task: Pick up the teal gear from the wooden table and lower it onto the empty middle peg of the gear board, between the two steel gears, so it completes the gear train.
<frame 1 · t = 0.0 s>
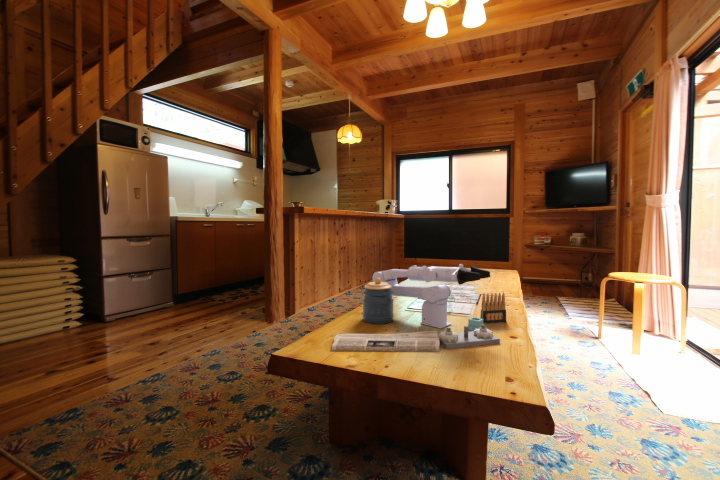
hand: (484, 275, 115), 22 cm above the table, tool horizontal, fingers open, 7 cm apart
teal gear: (475, 329, 123), on the table
gear board: (466, 341, 111), on the table
canister: (378, 320, 136), on the table
ammunition clip: (493, 322, 133), on the table
newspaper: (386, 345, 109), on the table
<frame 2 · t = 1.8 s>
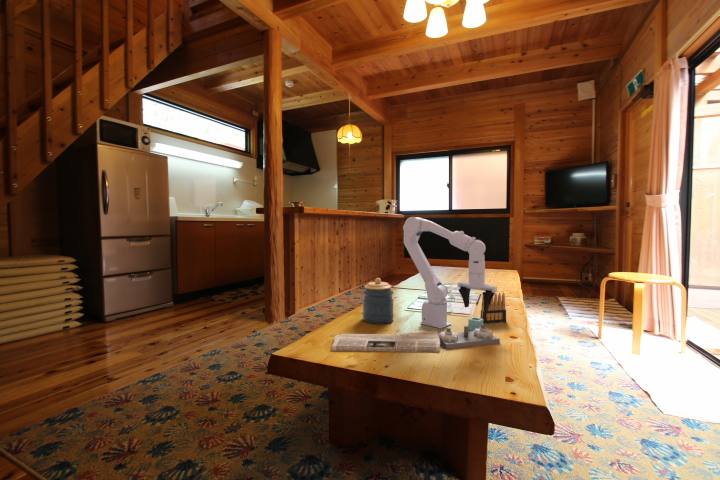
hand: (476, 308, 123), 8 cm above the table, tool pointing down, fingers open, 7 cm apart
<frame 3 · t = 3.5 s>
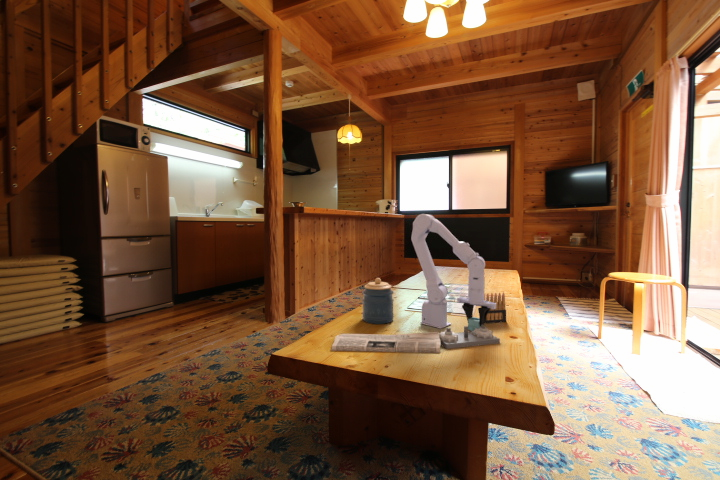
hand: (475, 324, 123), 2 cm above the table, tool pointing down, fingers closed on teal gear, 4 cm apart
teal gear: (475, 329, 123), on the table, touching gripper
everything else where it was.
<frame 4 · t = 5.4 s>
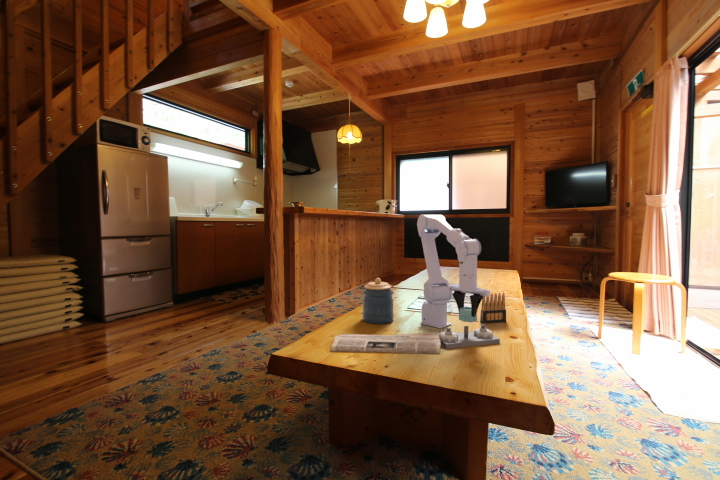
hand: (467, 314, 112), 9 cm above the table, tool pointing down, fingers closed on teal gear, 4 cm apart
teal gear: (467, 319, 112), point 7 cm above the table, touching gripper
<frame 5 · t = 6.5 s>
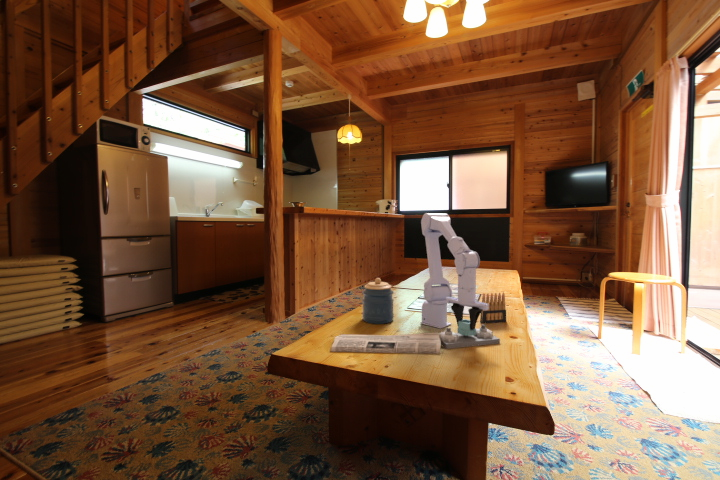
hand: (466, 327, 111), 5 cm above the table, tool pointing down, fingers closed on teal gear, 4 cm apart
teal gear: (466, 332, 111), point 3 cm above the table, touching gripper
when the fingers open (4 cm above the table, at t = 7.4 s): teal gear stays where it is, resting on gear board.
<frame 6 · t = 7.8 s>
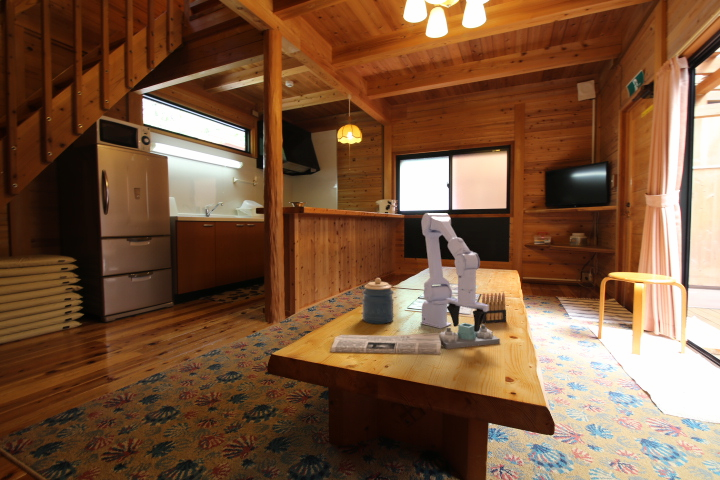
hand: (466, 328, 111), 4 cm above the table, tool pointing down, fingers open, 7 cm apart
teal gear: (466, 336, 111), point 1 cm above the table, touching gear board
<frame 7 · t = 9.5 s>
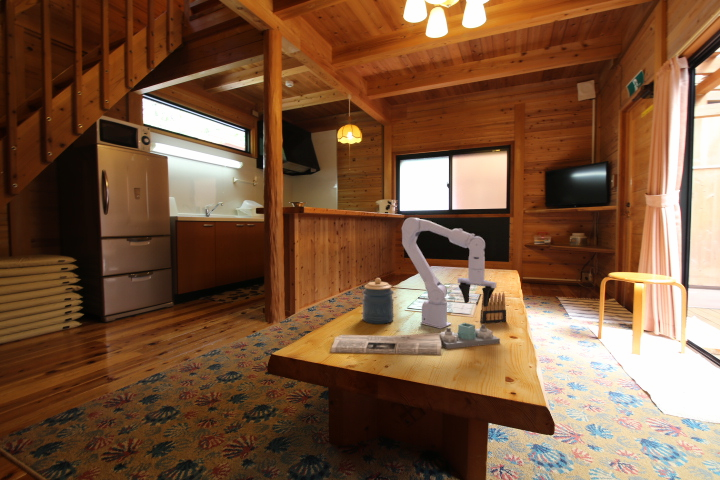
hand: (476, 304, 124), 9 cm above the table, tool pointing down, fingers open, 7 cm apart
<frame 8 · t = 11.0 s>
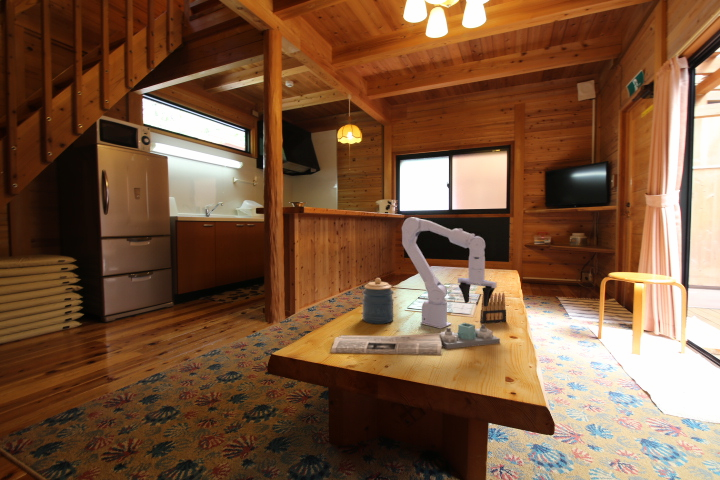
hand: (476, 304, 124), 9 cm above the table, tool pointing down, fingers open, 7 cm apart
at the end: teal gear 0.3 cm off-centre on the gear board, point 1.5 cm above the gear board's base; teal gear tilted 0°; the gripper is holding nothing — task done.
